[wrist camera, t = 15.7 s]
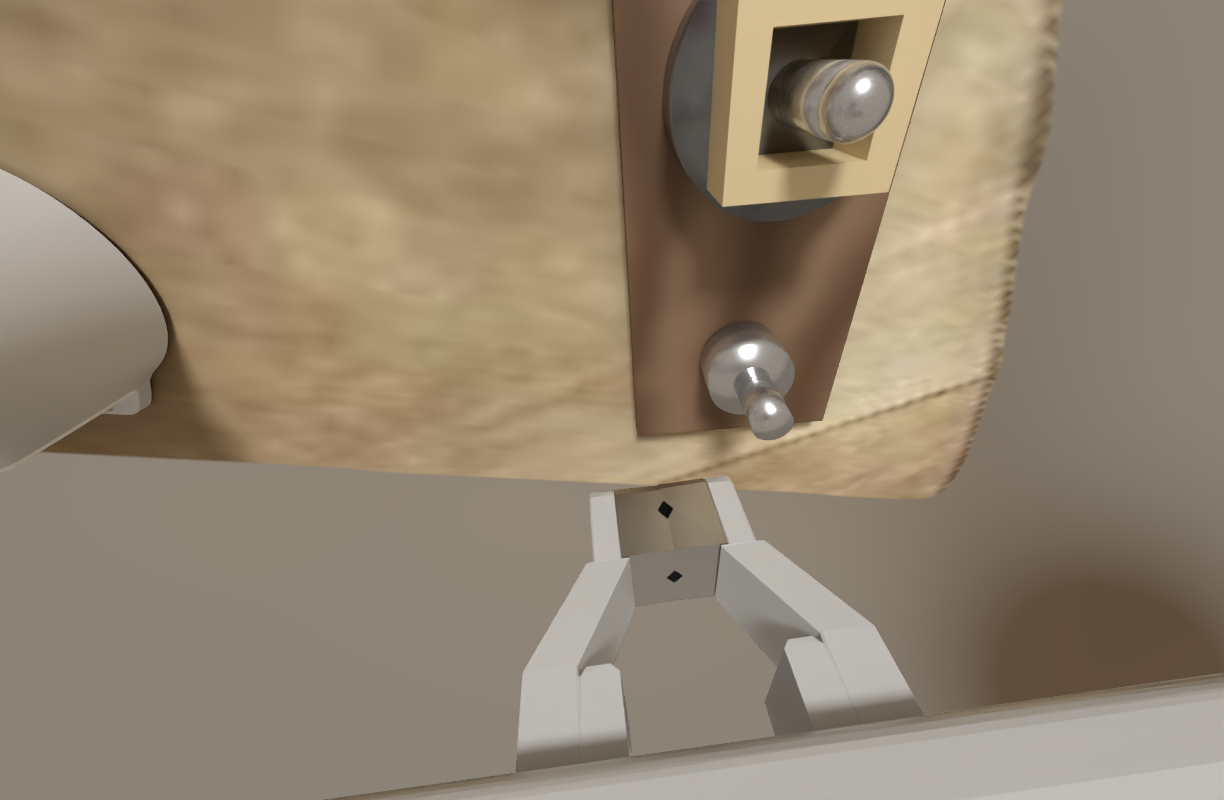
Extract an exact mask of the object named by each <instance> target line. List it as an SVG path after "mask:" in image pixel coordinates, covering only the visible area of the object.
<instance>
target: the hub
mask: <svg viewBox="0 0 1224 800" xmlns="http://www.w3.org/2000/svg"><path fill="white" fill-rule="evenodd" d="M716 14H717V0H693V1H692V2H691V4H690V5H689V7H688V8H687V10H686V12H685V14H684V16H683V18H682V20H681V22H680V24H679V26H678V28H677V31H676V34H675V36H674V39H673V42H672V44H671V47H670V51H669V55H668V59H667V63H666V68H665V74H664V81H663V97H662V103H663V118H664V124H665V129H666V134H667V137H668V141H669V144H670V147H671V149H672V152H673V154H674V156H675V158H676V160H677V162H678V163H679V165H680V167H681V168H682V170H683V171H684V173H685V174H686V175H687V176H688V177H689V179H690V180H691V181H692V182H693V184H694V185H695V186H696V187H697V188H698V190H699V191H700V192H701V193H702V194H703V195H704V196H705V197H706V198H707V199H708V200H709V201H710V202H711V203H713V204H714V205H715V206H717V207H718V208H720V209H722V210H723V211H725V212H727V213H729V214H731V215H734V216H736V217H739V218H743V219H747V220H753V221H761V222H766V221H781V220H787V219H792V218H795V217H798V216H802V215H805V214H807V213H810V212H812V211H814V210H817V209H819V208H821V207H822V206H824V205H826V204H828V203H830V202H832V201H833V200H834V199H836V198H837V197H828V198H817V199H805V200H794V201H783V202H772V203H761V204H749V205H738V206H727V207H722V206H721V205H720V204H719V202H718V201H717V200H716V199H715V198H714V197H713V196H712V195H711V193H710V192H709V191H708V190H707V176H708V158H709V140H710V122H711V104H712V86H713V68H714V50H715V32H716ZM858 23H859V21H853V22H843V23H832V24H822V25H811V26H801V27H790V28H780V29H773V35H772V43H771V52H770V60H769V68H768V77H767V85H766V94H765V102H764V111H763V119H762V128H761V136H760V145H759V153H758V155H764V154H775V153H786V152H797V151H808V150H819V149H830V148H833V143H838V144H849V143H854V142H857V141H860V140H862V139H864V138H866V137H867V136H869V135H870V134H872V133H873V132H874V131H875V130H876V129H877V128H878V127H879V126H880V125H881V124H882V123H883V121H884V120H885V118H886V117H887V115H888V113H889V111H890V109H891V107H892V103H893V99H894V81H893V78H892V76H891V74H890V72H889V71H888V69H887V68H886V67H885V66H884V65H882V64H880V63H879V62H876V61H873V60H851V57H852V52H853V47H854V43H855V38H856V33H857V28H858Z"/></svg>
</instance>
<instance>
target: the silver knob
mask: <svg viewBox="0 0 1224 800" xmlns="http://www.w3.org/2000/svg"><path fill="white" fill-rule="evenodd" d="M699 360H700V368H701V371H702V374H703V376H704V379H705V382H706V385H707V388H708V390H709V393H710V396H711V399H712V400H713V402H714V403H715V404H716V405H717V406H718V407H719V408H720V409H722V410H724V411H726V412H729V413H732V414H739V415H746V417H747V419H748V422H749V424H750V426H751V429H752V431H753V433H754V435H755V436H756V437H757V438H759V439H762V440H774V439H778V438H780V437H782V436H784V435H785V434H787V433H788V432H789V431H790V430H791V428H792V426H793V424H794V418H793V416H792V414H791V412H790V411H789V409H788V407H787V405H786V404H785V402H784V400H783V397H784V396H785V395H786V394H787V392H788V391H789V390H790V388H791V386H792V384H793V381H794V376H795V368H794V364H793V362H792V360H791V358H790V357H789V355H788V354H787V352H786V351H785V349H784V348H783V346H782V345H781V343H780V342H779V340H778V339H777V337H776V336H775V334H774V333H773V332H772V330H771V329H770V328H768V327H767V326H765V325H764V324H761V323H759V322H755V321H739V322H734V323H731V324H728V325H726V326H724V327H722V328H720V329H719V330H717V331H716V332H715V333H713V334H712V335H711V336H710V337H709V338H708V340H707V341H706V342H705V344H704V346H703V348H702V350H701V353H700V359H699Z"/></svg>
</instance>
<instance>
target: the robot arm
mask: <svg viewBox="0 0 1224 800" xmlns="http://www.w3.org/2000/svg"><path fill="white" fill-rule="evenodd" d="M167 345H168V333H167V327H166V322H165V319H164V316H163V313H162V311H161V308H160V306H159V304H158V302H157V300H156V298H155V296H154V295H153V293H152V291H151V290H150V288H149V287H148V285H147V284H146V282H145V281H144V279H143V278H142V277H141V275H140V274H139V273H138V272H137V270H136V269H135V268H134V267H133V265H132V264H131V263H130V262H129V261H128V260H127V259H126V258H125V256H124V255H123V254H122V253H121V252H120V251H119V250H118V249H117V248H116V247H115V246H114V245H113V244H112V243H111V242H109V241H108V240H107V239H106V238H105V237H104V236H103V235H102V234H101V233H100V232H98V231H97V230H96V229H95V228H94V227H92V226H91V225H90V224H89V223H88V222H86V221H85V220H84V219H82V218H81V217H80V216H78V215H77V214H76V213H74V212H73V211H72V210H70V209H69V208H67V207H66V206H65V205H63V204H62V203H60V202H59V201H57V200H56V199H54V198H53V197H51V196H49V195H48V194H46V193H45V192H43V191H41V190H39V189H38V188H36V187H34V186H33V185H31V184H29V183H27V182H25V181H23V180H22V179H20V178H18V177H16V176H14V175H12V174H10V173H8V172H6V171H4V170H1V169H0V472H3V471H7V470H9V469H12V468H14V467H16V466H18V465H19V464H21V463H23V462H24V461H26V460H27V459H29V458H31V457H32V456H34V455H36V454H38V453H39V452H41V451H42V450H44V449H46V448H47V447H49V446H51V445H52V444H54V443H55V442H57V441H59V440H60V439H62V438H63V437H65V436H67V435H68V434H70V433H72V432H73V431H75V430H76V429H78V428H80V427H81V426H83V425H84V424H86V423H88V422H89V421H91V420H92V419H94V418H96V417H97V416H99V415H100V414H117V415H133V414H136V413H138V412H140V411H141V410H143V409H144V408H146V407H148V406H149V405H150V403H151V399H152V394H151V385H150V378H151V376H152V374H153V372H154V371H155V370H156V369H157V367H158V366H159V365H160V364H161V362H162V360H163V359H164V357H165V354H166V351H167ZM614 497H615V500H614ZM589 500H590V517H591V530H592V531H591V532H592V549H593V562H589V563H586V564H585V566H584V568H583V570H582V571H581V573H580V575H579V576H578V578H577V580H576V581H575V583H574V585H573V587H572V588H571V590H570V592H569V594H568V595H567V597H566V599H565V600H564V602H563V604H562V606H561V607H560V609H559V611H558V612H557V614H556V616H555V618H554V619H553V621H552V623H551V625H550V626H549V628H548V630H547V632H546V633H545V635H544V637H543V638H542V640H541V642H540V644H539V645H538V647H537V649H536V650H535V652H534V654H533V656H532V657H531V659H530V661H529V662H528V664H527V666H526V668H525V669H524V671H523V676H522V689H521V703H520V718H519V732H518V746H517V747H518V748H517V760H516V773H510V774H504V775H496V776H489V777H482V778H475V779H467V780H460V781H453V782H447V783H439V784H432V785H426V786H418V787H411V788H404V789H396V790H389V791H382V792H376V793H368V794H361V795H354V796H346V797H339V798H332V799H325V800H1224V673H1221V674H1214V675H1207V676H1200V677H1193V678H1186V679H1178V680H1171V681H1165V682H1157V683H1150V684H1143V685H1136V686H1128V687H1121V688H1115V689H1108V690H1100V691H1093V692H1086V693H1079V694H1072V695H1065V696H1057V697H1051V698H1044V699H1036V700H1029V701H1022V702H1015V703H1008V704H1001V705H993V706H987V707H979V708H972V709H965V710H958V711H951V712H944V713H937V714H929V715H924V714H923V712H922V710H921V708H920V707H919V705H918V703H917V701H916V699H915V698H914V696H913V694H912V692H911V691H910V689H909V687H908V685H907V684H906V682H905V680H904V678H903V676H902V674H901V673H900V671H899V669H898V667H897V665H896V664H895V662H894V660H893V658H892V656H891V655H890V653H889V651H888V649H887V648H886V646H885V644H884V642H883V641H882V639H881V637H880V635H879V633H878V632H877V630H876V628H875V626H874V625H873V624H871V623H870V622H869V621H867V620H866V619H865V618H864V617H862V616H861V615H860V614H858V613H857V612H856V611H854V610H853V609H852V608H851V607H849V606H848V605H847V604H846V603H844V602H843V601H842V600H840V599H839V598H838V597H837V596H835V595H834V594H832V593H831V592H830V591H829V590H828V589H826V588H825V587H823V586H822V585H821V584H820V583H819V582H817V581H816V580H815V579H813V578H812V577H811V576H810V575H808V574H807V573H806V572H804V571H803V570H802V569H801V568H799V567H798V566H797V565H795V564H794V563H793V562H792V561H790V560H789V559H788V558H786V557H785V556H784V555H782V554H781V553H780V552H779V551H777V550H776V549H775V548H774V547H772V546H771V545H770V544H768V543H767V542H766V541H764V540H756V538H755V536H754V534H753V531H752V529H751V526H750V524H749V522H748V519H747V517H746V514H745V512H744V510H743V507H742V505H741V503H740V500H739V498H738V496H737V493H736V491H735V488H734V486H733V483H732V481H731V479H730V478H729V477H728V476H721V477H713V478H705V479H703V478H702V479H695V480H688V481H681V482H674V483H667V484H660V485H658V486H648V487H640V488H629V489H619V490H614V493H613V490H611V491H602V492H594V493H590V499H589ZM615 505H616V508H615ZM616 514H617V515H616ZM709 596H715V599H716V600H717V601H718V602H719V603H720V604H721V605H722V607H723V608H724V609H725V610H726V611H727V612H728V613H729V614H730V615H731V617H733V618H734V620H735V621H736V622H737V623H738V624H739V625H740V627H741V628H742V629H743V630H744V631H745V632H746V633H747V634H748V635H749V636H750V637H751V639H752V640H753V641H754V642H755V643H756V644H757V645H758V647H759V648H760V649H761V650H762V651H763V652H764V653H765V654H766V655H767V656H768V658H769V659H770V660H771V661H772V662H773V663H774V664H775V665H776V666H777V669H776V672H775V675H774V678H773V680H772V683H771V686H770V688H769V691H768V694H767V697H766V699H765V705H766V708H767V711H768V715H769V718H770V721H771V724H772V728H773V731H774V734H775V736H773V737H767V738H759V739H752V740H745V741H738V742H730V743H724V744H716V745H709V746H702V747H695V748H688V749H681V750H674V751H667V752H659V753H653V754H645V755H638V756H633V755H632V746H631V737H630V728H629V720H628V714H627V709H626V703H625V697H624V693H623V686H622V680H621V675H620V670H619V669H617V668H616V667H615V666H613V665H614V662H615V660H616V657H617V654H618V652H619V649H620V647H621V644H622V642H623V639H624V637H625V634H626V632H627V629H628V627H629V624H630V621H631V619H632V616H633V614H634V611H635V606H641V605H648V604H654V603H660V602H666V601H672V600H681V599H689V598H700V597H709Z"/></svg>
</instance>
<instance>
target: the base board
mask: <svg viewBox="0 0 1224 800" xmlns="http://www.w3.org/2000/svg"><path fill="white" fill-rule="evenodd" d="M692 1H693V0H612V11H613V29H614V46H615V64H616V81H617V98H618V116H619V133H620V151H621V168H622V186H623V203H624V221H625V238H626V255H627V273H628V290H629V308H630V325H631V343H632V360H633V378H634V395H635V412H636V426H637V434H638V436H643V435H655V434H667V433H679V432H691V431H703V430H715V429H727V428H739V427H751V426H750V424H749V422H748V419H747V417H746V415H739V414H732V413H729V412H726V411H724V410H722V409H720V408H719V407H718V406H717V405H716V404H715V403H714V402H713V400H712V399H711V396H710V393H709V390H708V388H707V385H706V382H705V379H704V376H703V374H702V371H701V368H700V360H699V359H700V353H701V350H702V348H703V346H704V344H705V342H706V341H707V340H708V338H709V337H710V336H711V335H712V334H713V333H715V332H716V331H717V330H719V329H720V328H722V327H724V326H726V325H728V324H731V323H734V322H739V321H755V322H759V323H761V324H764V325H765V326H767V327H768V328H770V329H771V330H772V332H773V333H774V334H775V336H776V337H777V339H778V340H779V342H780V343H781V345H782V346H783V348H784V349H785V351H786V352H787V354H788V355H789V357H790V358H791V360H792V362H793V364H794V368H795V376H794V381H793V384H792V386H791V388H790V390H789V391H788V392H787V394H786V395H785V396H784V397H783V400H784V402H785V404H786V405H787V407H788V409H789V411H790V412H791V414H792V416H793V418H794V423H799V422H811V421H822V420H823V417H824V413H825V410H826V407H827V403H828V400H829V396H830V393H831V390H832V386H833V383H834V379H835V376H836V373H837V369H838V366H839V362H840V359H841V356H842V352H843V349H844V345H845V342H846V339H847V335H848V332H849V328H850V325H851V322H852V318H853V315H854V311H855V308H856V305H857V301H858V298H859V294H860V291H861V288H862V284H863V281H864V277H865V274H866V271H867V267H868V264H869V260H870V257H871V254H872V250H873V247H874V243H875V240H876V237H877V233H878V230H879V226H880V223H881V219H882V216H883V213H884V209H885V206H886V202H887V199H888V196H889V192H890V189H891V185H892V182H893V179H894V175H895V172H896V168H897V165H898V162H899V158H900V155H901V151H902V148H903V145H904V141H905V138H906V134H907V131H908V128H909V124H910V121H911V117H912V114H913V111H914V107H915V104H916V100H917V97H918V94H919V90H920V87H921V83H922V80H923V77H924V73H925V70H926V66H927V63H928V60H929V56H930V53H931V49H932V46H933V43H934V39H935V36H936V32H937V29H938V26H937V29H936V32H935V36H934V39H933V43H932V46H931V49H930V53H929V56H928V60H927V63H926V66H925V70H924V73H923V77H922V80H921V83H920V87H919V90H918V93H917V97H916V100H915V104H914V107H913V110H912V114H911V117H910V121H909V124H908V127H907V131H906V134H905V138H904V141H903V144H902V148H901V151H900V154H899V158H898V161H897V165H896V168H895V171H894V175H893V178H892V182H891V185H890V188H889V192H884V193H873V194H862V195H850V196H839V197H837V198H836V199H834V200H833V201H832V202H830V203H828V204H826V205H824V206H822V207H821V208H819V209H817V210H814V211H812V212H810V213H807V214H805V215H802V216H798V217H795V218H792V219H787V220H781V221H766V222H761V221H753V220H747V219H743V218H739V217H736V216H734V215H731V214H729V213H727V212H725V211H723V210H722V209H720V208H718V207H717V206H715V205H714V204H713V203H711V202H710V201H709V200H708V199H707V198H706V197H705V196H704V195H703V194H702V193H701V192H700V191H699V190H698V188H697V187H696V186H695V185H694V184H693V182H692V181H691V180H690V179H689V177H688V176H687V175H686V174H685V173H684V171H683V170H682V168H681V167H680V165H679V163H678V162H677V160H676V158H675V156H674V154H673V152H672V149H671V147H670V144H669V141H668V137H667V134H666V129H665V124H664V118H663V103H662V97H663V81H664V74H665V68H666V63H667V59H668V55H669V51H670V47H671V44H672V42H673V39H674V36H675V34H676V31H677V28H678V26H679V24H680V22H681V20H682V18H683V16H684V14H685V12H686V10H687V8H688V7H689V5H690V4H691V2H692ZM945 2H946V0H945ZM945 2H944V5H945ZM944 5H943V8H944ZM942 12H943V9H942ZM942 12H941V15H942ZM941 15H940V19H941ZM940 19H939V22H940ZM939 22H938V25H939Z"/></svg>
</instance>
